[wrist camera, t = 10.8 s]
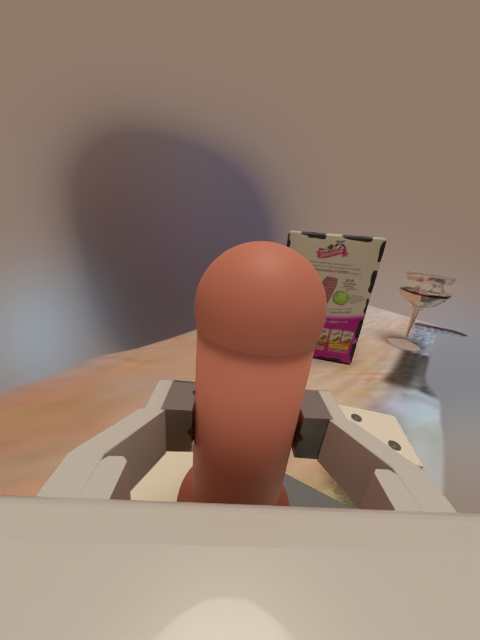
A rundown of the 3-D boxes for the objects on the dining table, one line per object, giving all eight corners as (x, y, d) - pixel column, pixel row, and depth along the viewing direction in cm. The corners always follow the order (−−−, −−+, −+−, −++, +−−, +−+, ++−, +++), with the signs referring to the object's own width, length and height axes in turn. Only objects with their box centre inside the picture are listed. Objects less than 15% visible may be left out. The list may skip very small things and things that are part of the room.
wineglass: (396, 334, 44) (419, 271, 40) (436, 350, 38) (468, 280, 34) (372, 337, 41) (395, 271, 37) (411, 356, 35) (443, 279, 31)
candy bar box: (343, 349, 36) (375, 238, 30) (351, 365, 31) (390, 238, 25) (272, 337, 37) (289, 230, 32) (269, 350, 33) (289, 228, 27)
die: (325, 442, 19) (337, 403, 17) (377, 454, 18) (394, 415, 17) (333, 492, 15) (349, 448, 14) (399, 510, 14) (423, 466, 13)
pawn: (215, 447, 13) (232, 236, 9) (297, 491, 11) (364, 251, 7) (150, 537, 9) (129, 227, 5) (261, 630, 7) (370, 256, 3)
